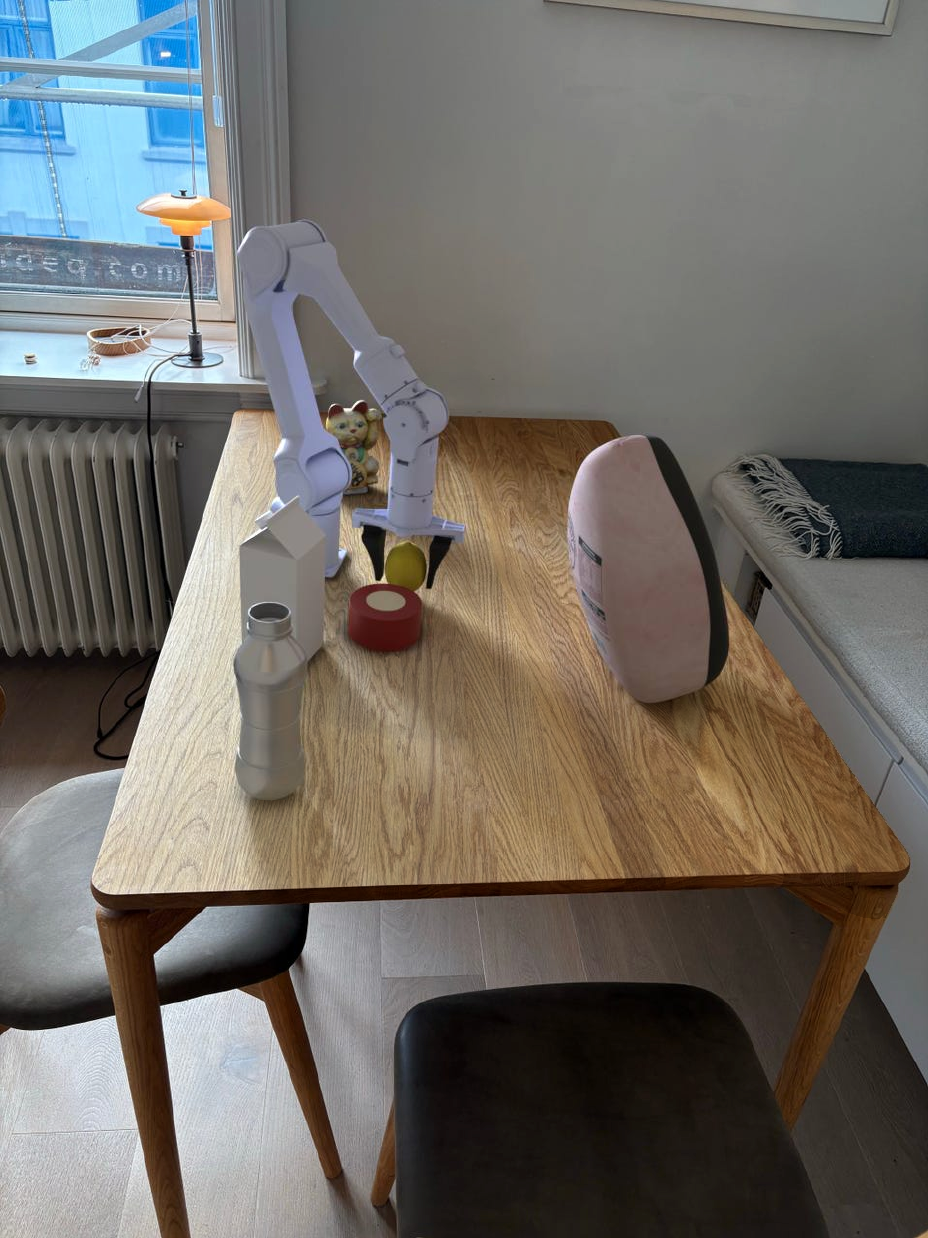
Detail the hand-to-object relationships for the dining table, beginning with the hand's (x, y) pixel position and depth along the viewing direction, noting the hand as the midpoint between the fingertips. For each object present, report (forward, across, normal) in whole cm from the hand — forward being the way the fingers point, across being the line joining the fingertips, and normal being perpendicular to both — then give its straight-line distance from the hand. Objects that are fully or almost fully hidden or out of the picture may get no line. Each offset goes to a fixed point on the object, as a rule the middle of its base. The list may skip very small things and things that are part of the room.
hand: (404, 581), depth 127 cm
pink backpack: (+2, +30, -10) cm, 32 cm away
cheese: (+2, 0, -10) cm, 10 cm away
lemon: (+2, 0, 0) cm, 2 cm away
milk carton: (+2, -11, -18) cm, 21 cm away
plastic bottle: (+2, -5, -41) cm, 41 cm away
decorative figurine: (+2, -16, +32) cm, 36 cm away
